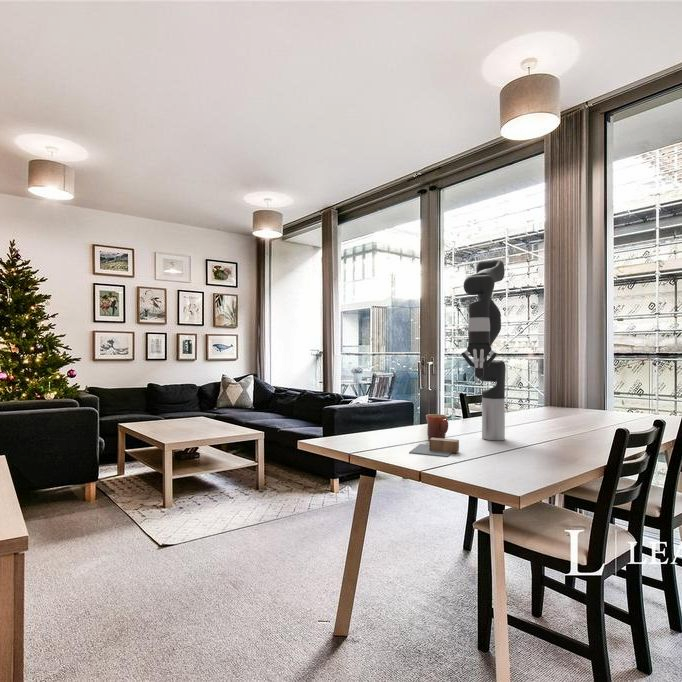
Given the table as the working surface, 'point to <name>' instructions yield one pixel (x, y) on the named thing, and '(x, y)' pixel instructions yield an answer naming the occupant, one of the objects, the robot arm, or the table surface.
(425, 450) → the mat
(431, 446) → the walnut block
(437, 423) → the mug
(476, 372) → the robot arm
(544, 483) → the table surface
